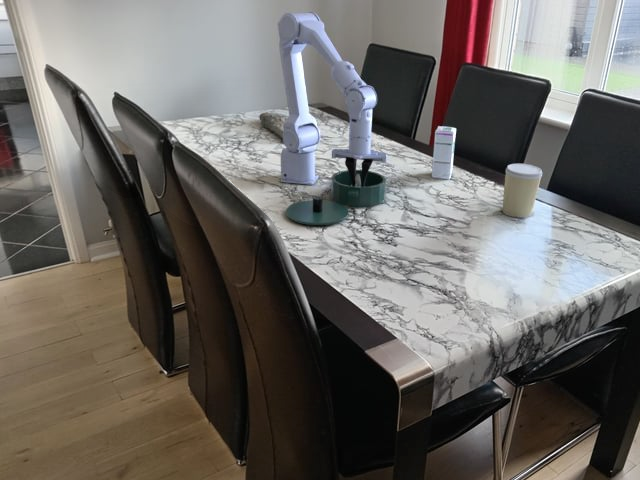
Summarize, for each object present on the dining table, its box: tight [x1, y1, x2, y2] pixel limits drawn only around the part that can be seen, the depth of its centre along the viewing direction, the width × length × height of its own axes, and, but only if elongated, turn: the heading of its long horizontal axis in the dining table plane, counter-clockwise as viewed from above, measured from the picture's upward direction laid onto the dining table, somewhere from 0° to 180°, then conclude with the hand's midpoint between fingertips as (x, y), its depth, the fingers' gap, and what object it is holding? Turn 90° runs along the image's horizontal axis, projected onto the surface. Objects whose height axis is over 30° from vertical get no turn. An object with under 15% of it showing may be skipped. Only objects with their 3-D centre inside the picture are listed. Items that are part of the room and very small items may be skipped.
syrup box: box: [431, 125, 457, 180], centre depth 174 cm, size 6×6×14 cm
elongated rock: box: [258, 111, 288, 140], centre depth 211 cm, size 35×5×10 cm
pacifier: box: [351, 173, 365, 187], centre depth 155 cm, size 7×6×6 cm
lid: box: [285, 195, 350, 226], centre depth 144 cm, size 16×16×5 cm
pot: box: [330, 168, 387, 208], centre depth 156 cm, size 15×20×5 cm
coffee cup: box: [502, 163, 543, 219], centre depth 151 cm, size 9×9×12 cm
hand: (358, 185), depth 156 cm, fingers closed on pacifier, 2 cm apart
